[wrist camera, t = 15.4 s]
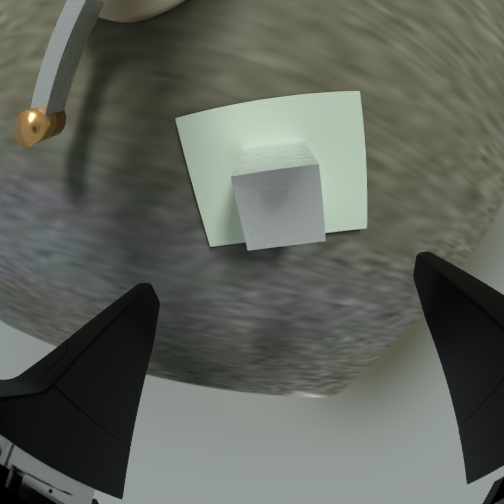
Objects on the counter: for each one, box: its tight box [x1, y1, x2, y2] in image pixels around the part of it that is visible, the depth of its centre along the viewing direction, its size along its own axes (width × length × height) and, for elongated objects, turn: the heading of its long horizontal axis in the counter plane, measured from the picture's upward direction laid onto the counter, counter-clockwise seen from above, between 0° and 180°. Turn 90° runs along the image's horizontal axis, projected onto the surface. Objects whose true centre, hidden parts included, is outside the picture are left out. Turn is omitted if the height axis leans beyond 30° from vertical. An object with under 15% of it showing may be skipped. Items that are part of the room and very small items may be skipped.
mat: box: [175, 91, 367, 247], centre depth 19 cm, size 12×10×1 cm
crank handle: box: [14, 0, 105, 148], centre depth 9 cm, size 17×7×5 cm, turn 153°
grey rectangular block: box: [231, 140, 326, 251], centre depth 16 cm, size 4×4×6 cm
